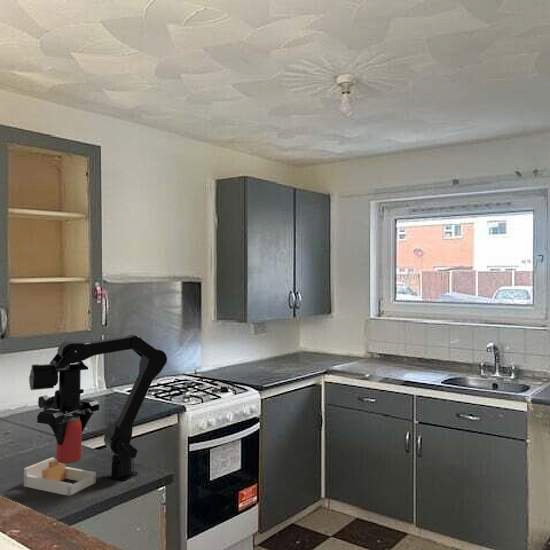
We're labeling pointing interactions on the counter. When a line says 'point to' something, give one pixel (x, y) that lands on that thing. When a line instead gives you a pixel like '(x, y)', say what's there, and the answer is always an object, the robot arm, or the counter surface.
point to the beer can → (70, 441)
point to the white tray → (36, 481)
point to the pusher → (54, 471)
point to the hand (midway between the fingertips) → (69, 441)
